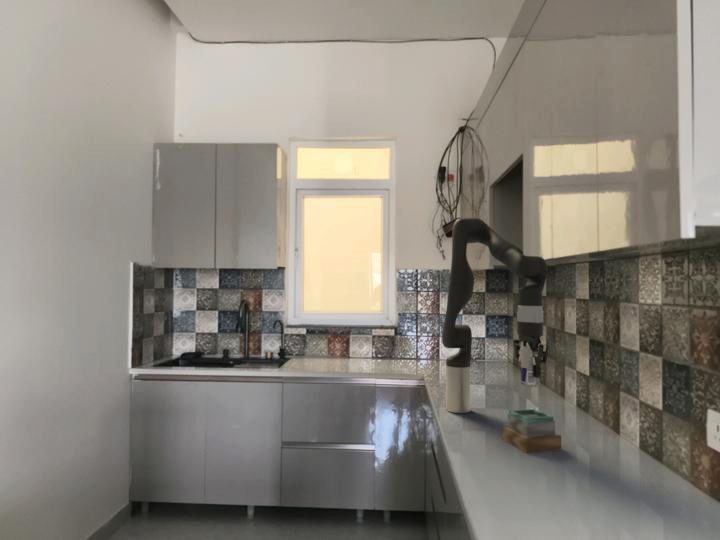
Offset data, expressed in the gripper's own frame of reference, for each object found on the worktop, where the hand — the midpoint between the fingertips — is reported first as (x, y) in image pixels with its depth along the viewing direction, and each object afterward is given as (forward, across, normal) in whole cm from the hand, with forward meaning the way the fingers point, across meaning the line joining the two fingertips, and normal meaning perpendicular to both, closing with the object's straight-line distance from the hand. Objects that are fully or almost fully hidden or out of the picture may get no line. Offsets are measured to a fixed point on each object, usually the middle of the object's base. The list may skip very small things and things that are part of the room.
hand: (530, 375), depth 137 cm
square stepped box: (+21, 0, 0) cm, 21 cm away
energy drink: (+3, 0, 0) cm, 3 cm away
